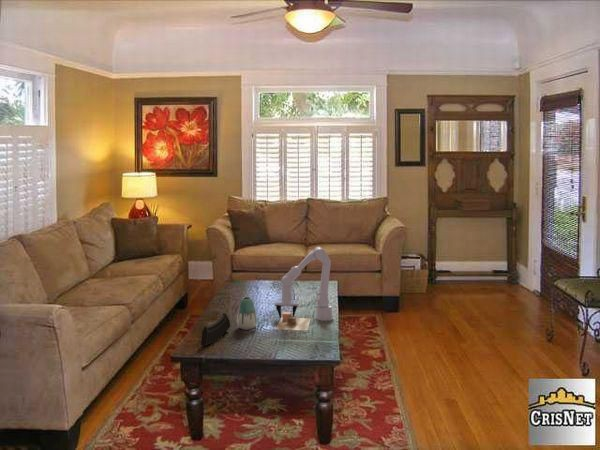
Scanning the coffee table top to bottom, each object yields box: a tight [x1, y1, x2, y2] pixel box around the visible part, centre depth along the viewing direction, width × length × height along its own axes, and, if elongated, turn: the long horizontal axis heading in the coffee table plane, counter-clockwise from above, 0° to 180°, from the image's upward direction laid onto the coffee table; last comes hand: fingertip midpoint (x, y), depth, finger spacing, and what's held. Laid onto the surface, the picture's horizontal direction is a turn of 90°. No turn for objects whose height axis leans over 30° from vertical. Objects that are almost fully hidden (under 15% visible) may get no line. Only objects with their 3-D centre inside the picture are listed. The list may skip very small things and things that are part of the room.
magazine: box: [200, 313, 231, 346], centre depth 330 cm, size 17×3×30 cm
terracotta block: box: [282, 311, 292, 321], centre depth 363 cm, size 5×5×4 cm
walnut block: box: [287, 315, 297, 325], centre depth 354 cm, size 5×5×4 cm
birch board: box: [275, 316, 312, 331], centre depth 355 cm, size 18×24×1 cm
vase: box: [236, 296, 258, 331], centre depth 349 cm, size 12×12×18 cm
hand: (286, 318), depth 364 cm, fingers open, 7 cm apart
